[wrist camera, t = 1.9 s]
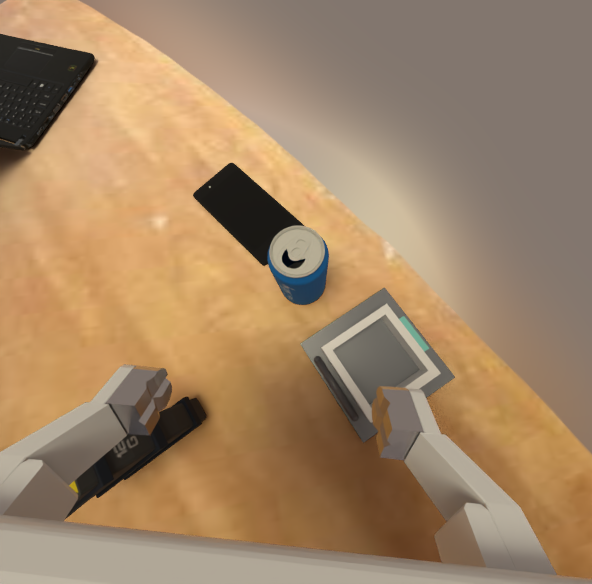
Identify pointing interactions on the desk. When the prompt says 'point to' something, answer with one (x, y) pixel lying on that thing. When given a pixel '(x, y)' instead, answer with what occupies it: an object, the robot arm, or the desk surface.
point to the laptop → (34, 86)
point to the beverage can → (299, 263)
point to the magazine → (137, 451)
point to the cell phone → (245, 210)
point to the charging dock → (373, 358)
